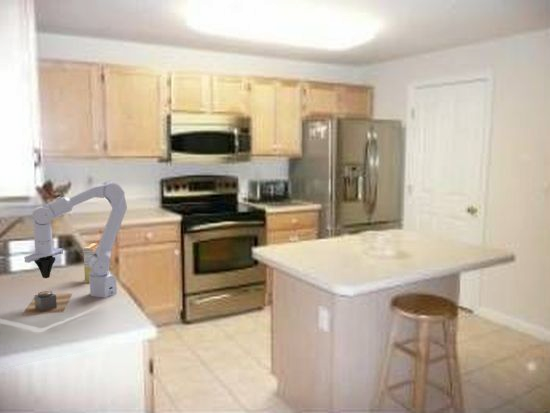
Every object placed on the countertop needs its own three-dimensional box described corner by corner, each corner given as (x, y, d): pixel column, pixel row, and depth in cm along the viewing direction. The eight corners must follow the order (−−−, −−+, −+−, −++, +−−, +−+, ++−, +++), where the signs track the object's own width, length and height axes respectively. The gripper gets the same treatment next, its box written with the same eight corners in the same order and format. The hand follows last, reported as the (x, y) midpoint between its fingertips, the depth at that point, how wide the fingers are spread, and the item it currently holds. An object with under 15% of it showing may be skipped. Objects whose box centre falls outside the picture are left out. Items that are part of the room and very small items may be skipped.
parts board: (35, 298, 176) (35, 295, 176) (72, 295, 180) (72, 292, 180) (21, 318, 156) (20, 315, 156) (63, 315, 160) (63, 312, 159)
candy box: (93, 277, 204) (91, 243, 202) (102, 277, 204) (101, 243, 202) (84, 283, 195) (82, 247, 193) (94, 283, 195) (92, 247, 193)
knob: (50, 304, 167) (49, 289, 166) (56, 307, 164) (55, 292, 163) (35, 307, 163) (34, 292, 163) (41, 311, 160) (40, 296, 159)
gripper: (52, 235, 175) (54, 271, 177) (17, 243, 162) (20, 281, 164) (66, 237, 172) (68, 273, 174) (31, 245, 159) (34, 284, 161)
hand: (46, 277), depth 169 cm, fingers closed
